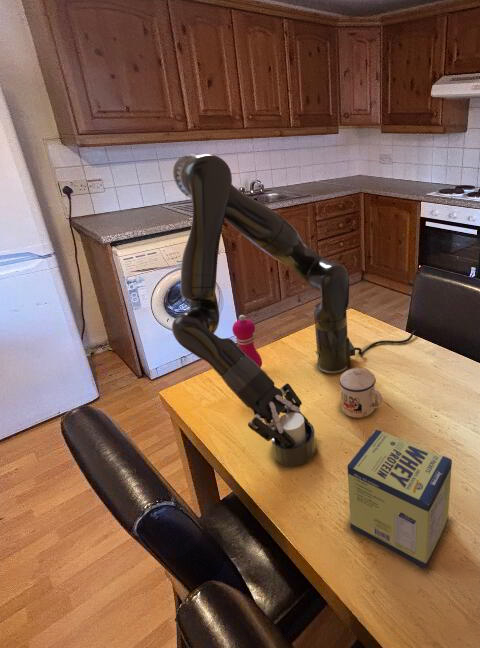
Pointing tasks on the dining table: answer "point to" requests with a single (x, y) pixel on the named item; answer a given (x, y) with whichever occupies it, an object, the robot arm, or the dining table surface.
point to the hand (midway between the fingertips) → (299, 435)
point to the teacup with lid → (359, 392)
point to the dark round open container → (295, 450)
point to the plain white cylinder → (294, 427)
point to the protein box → (399, 496)
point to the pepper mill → (246, 338)
